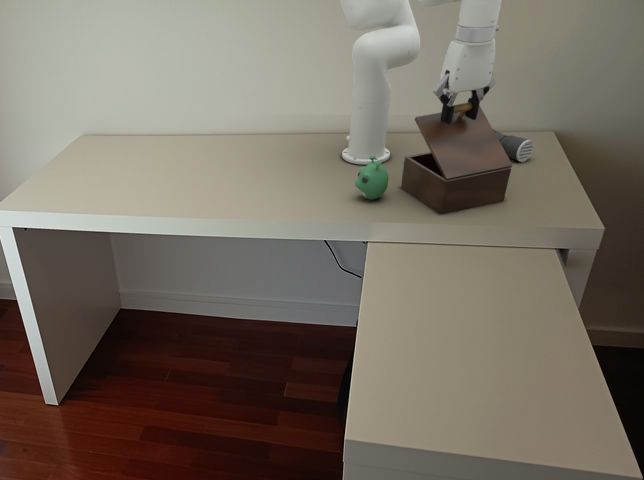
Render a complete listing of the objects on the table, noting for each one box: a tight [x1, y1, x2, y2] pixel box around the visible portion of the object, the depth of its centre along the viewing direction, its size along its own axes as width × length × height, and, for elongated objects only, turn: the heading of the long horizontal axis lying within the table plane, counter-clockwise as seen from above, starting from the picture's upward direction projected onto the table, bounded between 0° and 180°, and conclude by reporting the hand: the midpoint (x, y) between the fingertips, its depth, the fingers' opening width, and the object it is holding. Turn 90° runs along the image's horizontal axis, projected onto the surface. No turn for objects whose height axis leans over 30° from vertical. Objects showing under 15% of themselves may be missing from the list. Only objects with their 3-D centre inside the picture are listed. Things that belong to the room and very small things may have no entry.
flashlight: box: [492, 128, 535, 163], centre depth 170 cm, size 15×5×5 cm, turn 25°
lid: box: [414, 101, 514, 181], centre depth 144 cm, size 17×17×5 cm
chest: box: [400, 151, 512, 215], centre depth 152 cm, size 17×17×8 cm
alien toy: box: [354, 156, 390, 200], centre depth 153 cm, size 7×8×10 cm
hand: (458, 119), depth 146 cm, fingers closed on lid, 5 cm apart
